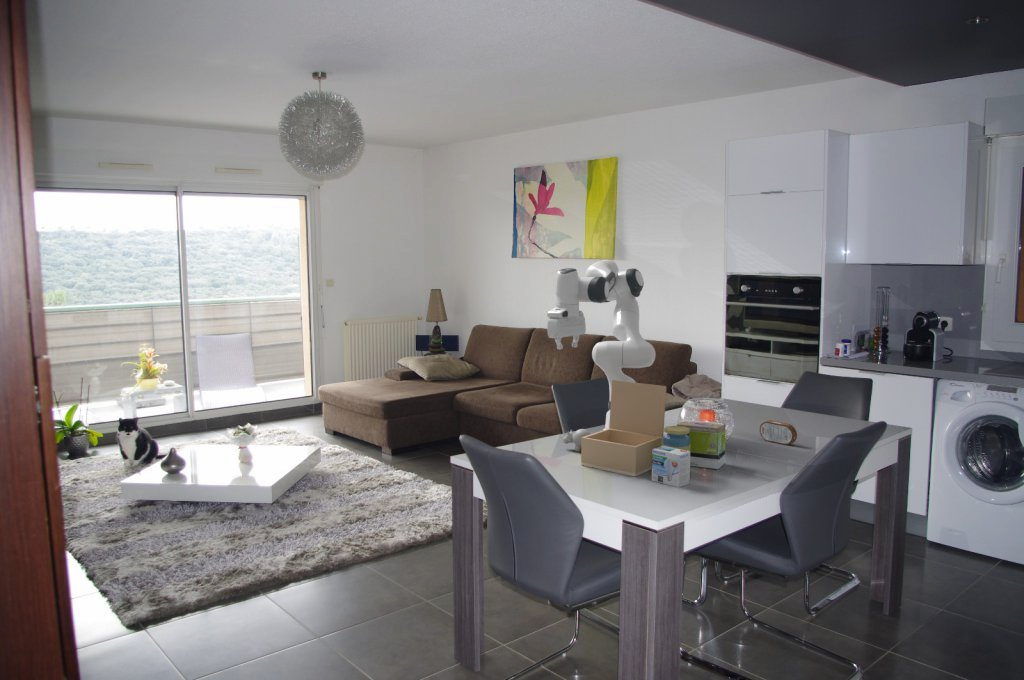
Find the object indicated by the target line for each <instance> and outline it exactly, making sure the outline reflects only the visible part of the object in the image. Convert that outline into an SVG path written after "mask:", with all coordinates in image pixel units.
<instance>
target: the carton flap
mask: <svg viewBox="0 0 1024 680" xmlns="http://www.w3.org/2000/svg"><path fill="white" fill-rule="evenodd" d="M666 398H667V385H658V384H649V383H643V382H642V383H641V382H636V383H634V382H625V381H616V380H612V389H611V406H610V422H609V428H610V429H616V430H622V431H628V432H634V433H640V434H646V435H651V436H657V437H662V438H663V437H664V433H665V432H664V428H665V418H666V417H665V416H666V415H665V413H666V400H667V399H666Z"/></svg>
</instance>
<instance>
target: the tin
mask: <svg viewBox="0 0 1024 680" xmlns="http://www.w3.org/2000/svg"><path fill="white" fill-rule="evenodd" d="M759 434H760V437H761V438H762V439H763V440H764V441H765V442H766V441H767V442H769V443H774V444H778V445H779V444H780V445H785V446H786V445H787V446H789V445H792V444H794V443H795V442H796V440H797V438H798V433H797V430H796V428H795V427H794V426H793V425H792V424H791V423H787V422H781V421H777V420H773V419H772V420H771V419H769V420H765V421H763V422H762V423H761V424H760V426H759Z"/></svg>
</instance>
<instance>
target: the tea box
mask: <svg viewBox="0 0 1024 680" xmlns="http://www.w3.org/2000/svg"><path fill="white" fill-rule="evenodd" d="M676 426H684V427H687V428H690V432H689V433H688V434H687V435H688V436H690V467H697V468H698V467H700V468H705V469H712V470H718V469H720V468H721V467H722V466H723V465H724V464H725V463H726V423H725V422H715V421H706V420H705V421H704V420H692V419H684V420H682V421H680V422H679V423H677V424H676Z"/></svg>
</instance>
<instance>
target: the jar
mask: <svg viewBox="0 0 1024 680" xmlns="http://www.w3.org/2000/svg"><path fill="white" fill-rule="evenodd" d="M689 432H690V428H687V427H684V426H677V425H670V426H669V425H667V426H664V433H666V434H665V435H663V437H662V446H667V447H672V448H677V449H681V450H686V451H690V436H688V435H687V434H688V433H689Z"/></svg>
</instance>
